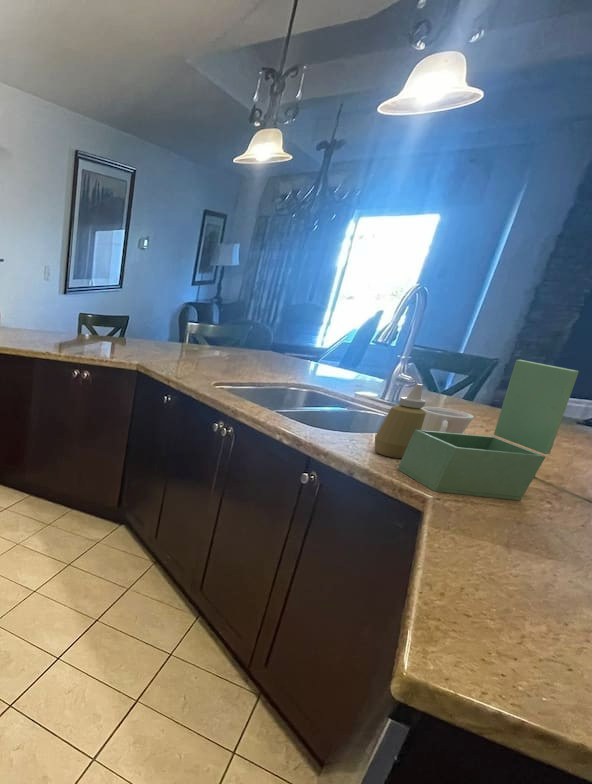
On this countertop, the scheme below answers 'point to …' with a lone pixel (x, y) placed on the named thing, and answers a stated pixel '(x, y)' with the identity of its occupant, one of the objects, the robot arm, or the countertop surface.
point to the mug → (445, 420)
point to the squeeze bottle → (401, 424)
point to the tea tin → (470, 464)
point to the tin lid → (535, 404)
